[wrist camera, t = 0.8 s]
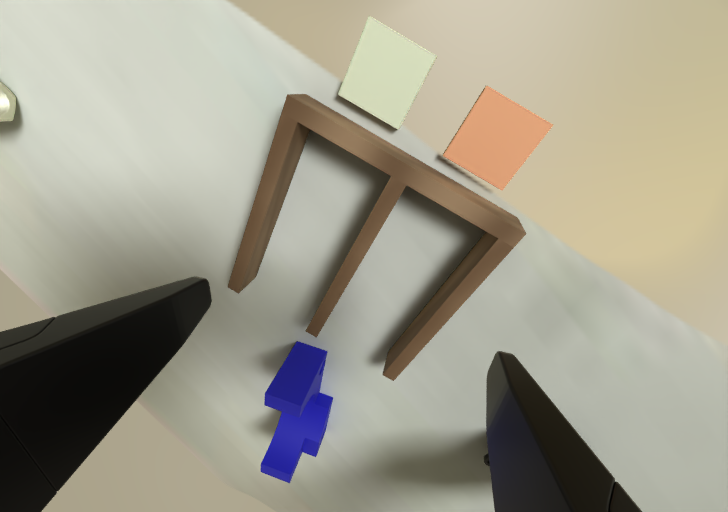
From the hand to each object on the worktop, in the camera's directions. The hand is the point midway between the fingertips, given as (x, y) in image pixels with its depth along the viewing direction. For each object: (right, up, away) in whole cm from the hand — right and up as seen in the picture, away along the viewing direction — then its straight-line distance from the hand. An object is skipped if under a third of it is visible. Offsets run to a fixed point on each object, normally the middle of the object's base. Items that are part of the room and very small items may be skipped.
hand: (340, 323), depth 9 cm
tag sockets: (+2, +4, +12) cm, 13 cm away
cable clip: (-4, -11, +23) cm, 26 cm away
